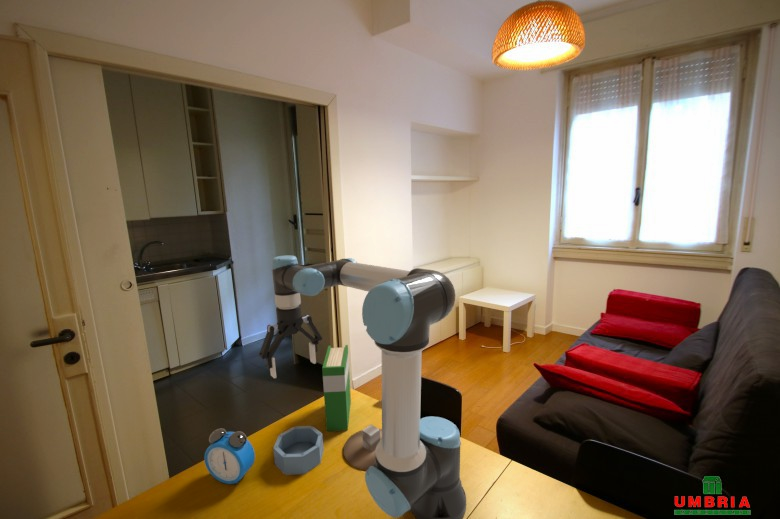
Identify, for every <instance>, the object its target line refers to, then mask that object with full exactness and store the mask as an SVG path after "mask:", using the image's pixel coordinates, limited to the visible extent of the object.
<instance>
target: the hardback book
mask: <svg viewBox="0 0 780 519" xmlns="http://www.w3.org/2000/svg"><path fill="white" fill-rule="evenodd" d="M349 358H350V357H349V344H345V346H344V347H332V345H328V346H327V350H326V354H325V357H324V361H323V364H322V368H321V372H322V382H323V384H322V385H323V398H324V401H323V402H324V414H325V415H324V416H325V430H326V432H334V431H336V432H337V431H348V430H349V420H350V413H351V404H352V399H351V381H350V380H351V377H350V362H349V361H350V359H349Z"/></svg>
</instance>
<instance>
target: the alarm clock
mask: <svg viewBox="0 0 780 519" xmlns="http://www.w3.org/2000/svg"><path fill="white" fill-rule="evenodd" d="M208 442H209V444H210V445H209V446H208V447H207V448H206V450H205V452H204V457H203V458H204V464H205V467H206V469H207V471H208V472H209V474H210V475H211V476H212V477H213V478H214V479H215V480H216V481H219V482H221V483H223V484H227V485H232V484H233V485H234V484H236V485H237V486H238V485H239V481H241V479H243V477H244V476H245V475H246V474H247V472H249V470H250V469H251V468H252V466H253V464H254V463H255V460H256V454H255V450H254V447H253V445H252V443H251V442H250V440H248V438H247V435H246V434H245V433H244V432H243V431H239V430H238V431H227V430H226V429H225V428H222V427H221V428H217V429H214V430H213V431H212V432H211V433H210V435H209V437H208Z"/></svg>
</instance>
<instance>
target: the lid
mask: <svg viewBox="0 0 780 519" xmlns="http://www.w3.org/2000/svg"><path fill="white" fill-rule="evenodd" d="M381 439H382V428H378V427H376V426H374V425H373V424H370V425H368V426H366V427H365V428H363V429H362V430H359V431H357V432H354V433H353V434H351V435H350V436H349V437H348V438H347V440H346V441H345V443H344V446H343V456H344V458H345V460H346V462H347V463H348V464H350V465H351V466H353V467H354V468H357V469H358V470H359V469H361V470H366V471H367V470H368V469H369V467H370V466H373V465H374V464H375V451H376V446H377V444H378V443H379V441H380V440H381Z"/></svg>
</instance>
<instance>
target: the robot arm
mask: <svg viewBox="0 0 780 519" xmlns="http://www.w3.org/2000/svg"><path fill="white" fill-rule="evenodd" d="M271 272H272V273H271V274H272V282H273V291H274V301H275V307H276V308H275V313H276V320H277V322H276V324H273V325H272V324H268V325H267V326H266V335H265V336H264V340H263V342H262V345H261V348H260V349H259V353H258V356H259V357H260V358H261V359H263V360H265V362H266V367H267V368H268V369H269V372H270V376H271V377H272V378H273V379H277V370H276V358H275V357H274V355H275V353H276V351H277V350H278V348H279V346H280V345H281V343H282V341H283V340H285V338H286V336H287V337H290V336H292V335H296V334H298V333H300V334H301V335H303V336H304V337H305V338H306V339H308V340H309V341H310V342H308V350H309V352H308V353H309V360H310V363H312V364H314V365H315V364H317V358H316V357H317V356H316V354H317V352H318V345H319V342H320V341H322V340H323V336H322V335H321V334H320V332H319V331H318V329H317V327H316V326H315V325H314V323H313V317H312V316H311V315H308V314H305V315H304V316H303V317H302V312H303V311H302V305H301V304H302V299H301V295H304V296H308V297H314V296H317V295H318V294H320V293H321V292H322V290H324V289H329V288H332V287H337V286H343V287H346V288H347V287H349V288H352V289H355V290H361V291H363V292H367V294H366V296H365V297H364V299H363V303H362V309H361V310H362V311H361V312H362V313H361V316H362V318H361V319H362V322H363V325H364V327H365V326H366V330H365V332H366V333H367V335H368V336H369V337H370V339H371V340H373V341H374V345H375V346H376V347H377V348H378V349H379V350H381V429H382V439H381V440H380V441H379V443H378V444H377V446H376V451H375V464H374V465H373V466H370V467H369V469H368V470H366V471H365V473H364V479H365V480H364V481H365V484H366V487H367V489H368V492H369V494H370V496H371V497H372V500H373V502H375V504H376V505H377V506H378V508H379V509H380V510H381V511H382V512H384V513H385V514H386V515H388V516H389V517H390V518H401V517H402V516H403V515H404V514H405V513H407V512H409V511H411V512H412V514H413V515H414V516H415V518H416V519H462V518H463V517H464V516H465V514H466V510H467V494H466V491H465V489H464V486H463V485H462V481H461V477H460V473H461V445H462V441H461V435H460V434H461V433H460V430H459V428H458V427H457V425H456V424H454V422H452V421H450V420H448V419H446V418H444V417H440V416H431V415H430V416H425V417H422V418H421V396H422V395H421V394H422V391H421V390H422V358H423V357H422V356H423V355H422V352H423V350H425V349H426V348H427V347H428V346H429V344H430V327H431V326H432V325H434V324H436V323H439V322H440V321H442V320H443V319H445V318H446V317H448V316H449V315H450V313H451V312H452V311H453V308H454V306H455V302H456V290H455V286H454V284H453V283H452V281H451V280H450V278H449V277H448V276H447V275H445V274H444V273H442V272H440V271H438V270H433V269H425V268H418V267H417V268H412V269H410V270H405V269H397V268H391V267H387V266H381V265H380V266H378V265H373V264H366V263H360V262H358V261H356V260H355V259H354V258H351V257H350V258H348V257H347V258H341V259H338V260H337V259H336V260H332V261H328V262H322V263H316V264H312V265H311V264H310V265H307V266H303V265H299V261H298V258H297V256H296V255H291V254H290V255H289V254H288V255H287V254H286V255H279V256H275V257H274V258H272V260H271ZM303 323H305V324H306V325H307V326H308V328H309V330H310V332H311V333H312V334H313V336H314V337H313V336H312V335H311V334H310V333H309V332H307V331H306V330H305V329H304V327H302V326H303ZM277 330H278V331H277ZM276 331H277V333H276ZM275 333H276V336H275V338H274V335H275Z"/></svg>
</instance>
